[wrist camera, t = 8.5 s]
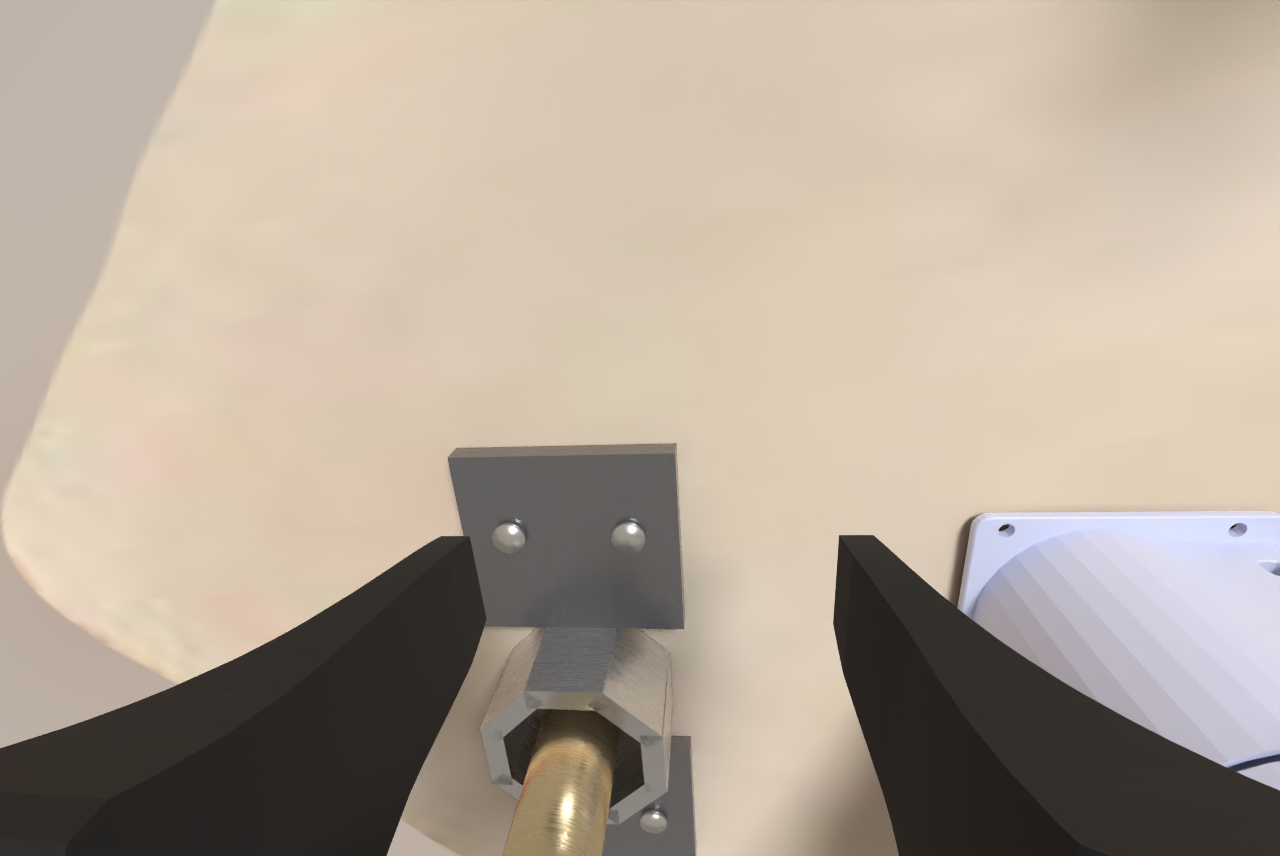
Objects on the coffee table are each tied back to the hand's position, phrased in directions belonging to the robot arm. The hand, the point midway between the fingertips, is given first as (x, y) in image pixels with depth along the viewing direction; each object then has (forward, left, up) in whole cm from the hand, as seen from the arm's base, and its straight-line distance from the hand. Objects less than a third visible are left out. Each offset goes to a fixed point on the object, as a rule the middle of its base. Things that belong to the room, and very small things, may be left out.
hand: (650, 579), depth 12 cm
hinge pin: (+4, +12, -9) cm, 16 cm away
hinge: (+4, +12, -9) cm, 16 cm away
